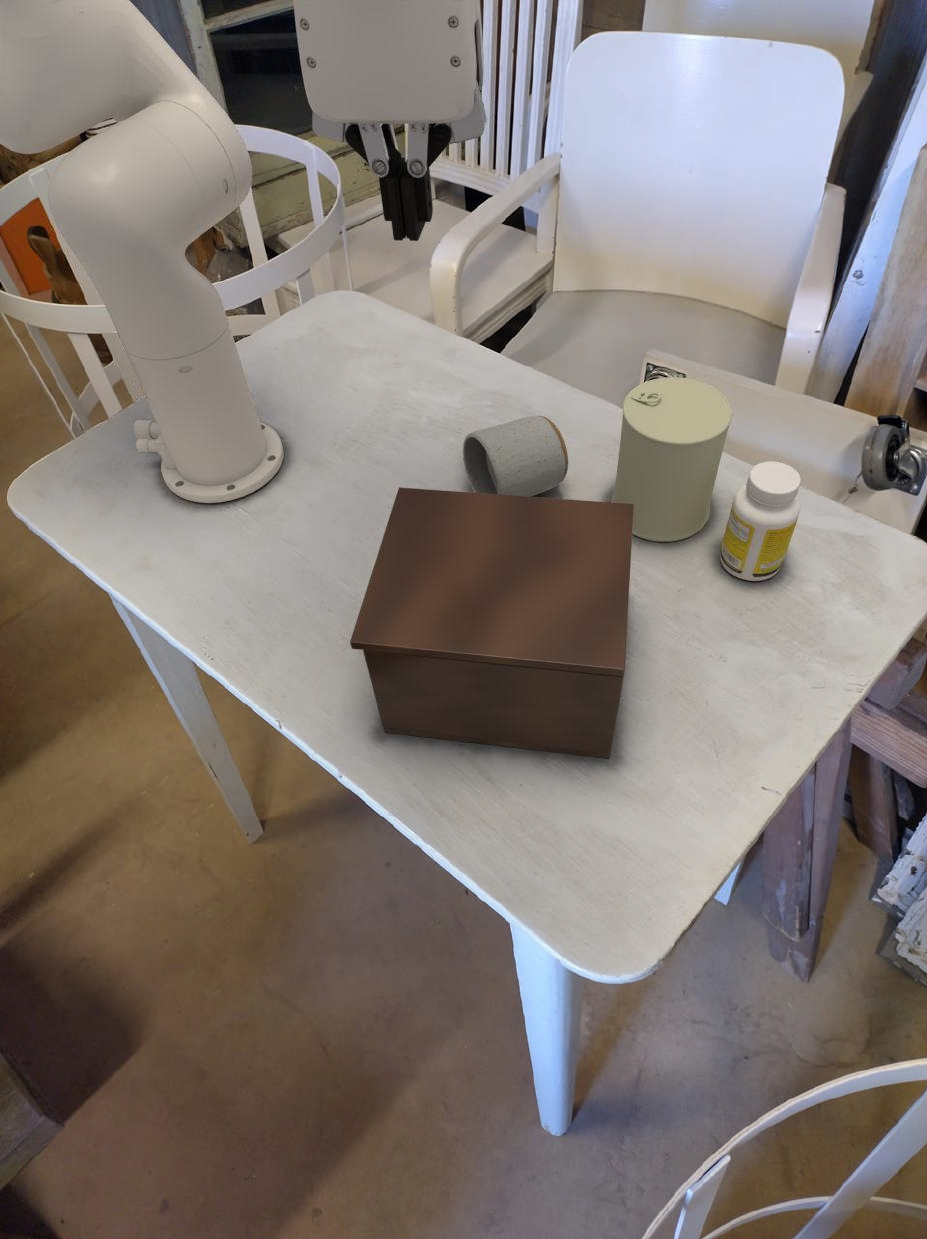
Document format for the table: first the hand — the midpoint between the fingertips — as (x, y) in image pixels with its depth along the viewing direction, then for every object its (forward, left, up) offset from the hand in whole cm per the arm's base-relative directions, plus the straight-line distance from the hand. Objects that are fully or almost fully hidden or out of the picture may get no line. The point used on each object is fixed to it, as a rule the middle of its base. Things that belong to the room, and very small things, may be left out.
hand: (410, 230), depth 55 cm
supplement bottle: (+28, 0, -29) cm, 41 cm away
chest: (+8, -14, -29) cm, 33 cm away
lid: (+8, -14, -18) cm, 24 cm away
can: (+20, +6, -29) cm, 36 cm away
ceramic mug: (+5, +8, -29) cm, 31 cm away
